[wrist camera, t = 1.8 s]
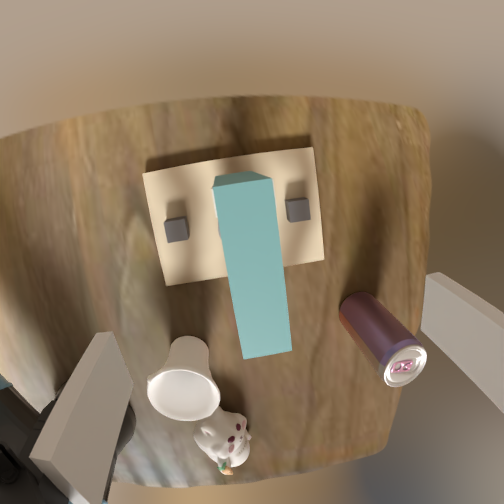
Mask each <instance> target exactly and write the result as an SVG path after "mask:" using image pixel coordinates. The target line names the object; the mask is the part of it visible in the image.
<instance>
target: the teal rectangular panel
mask: <svg viewBox="0 0 504 504" xmlns="http://www.w3.org/2000/svg"><path fill="white" fill-rule="evenodd" d="M211 191H212V197H213V203H214V209H215V215H216V218H218V222H219V228H220V234H221V240H222V246H223V251H224V257H225V263H226V268H227V274H228V279H229V285H230V290H231V296H232V301H233V307H234V312H235V317H236V322H237V328H238V333H239V338H240V343H241V348H242V353H243V358H244V359H249V358H255V357H261V356H266V355H271V354H277V353H282V352H287V351H292V346H291V336H290V326H289V316H288V307H287V297H286V288H285V279H284V271H283V262H282V254H281V245H280V237H279V229H278V221H277V213H276V208H277V203H276V196H275V188H274V181H273V179H272V178H270V177H267V176H264V175H261V174H258V173H256V172H253V171H244V172H238V173H231V174H225V175H219V176H215V179H214V184H213V186H212V188H211Z"/></svg>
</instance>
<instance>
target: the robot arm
mask: <svg viewBox="0 0 504 504" xmlns="http://www.w3.org/2000/svg"><path fill="white" fill-rule="evenodd" d="M421 330H422V331H423V332H424V333H425V334H426V335H427V336H428V337H429V338H430V339H431V340H432V341H433V342H434V343H435V344H436V345H437V346H438V347H439V348H440V349H441V350H442V351H443V352H444V353H445V354H446V355H447V356H448V357H449V358H451V360H452V361H453V362H455V363H456V365H458V367H459V368H461V370H462V371H463V372H464V373H465V374H466V375H467V376H468V377H469V378H471V380H472V381H473V382H474V383H475V384H476V385H477V386H478V387H479V388H480V389H481V390H482V391H483V392H484V393H485V394H486V395H487V396H488V397H489V398H490V400H491V401H492V402H493V403H494V404H495V405H496V406H497V407H498V408H499V409H500V410H501V411H502V412H503V414H504V313H503V312H501V311H500V310H498V309H497V308H495V307H494V306H492V305H491V304H489V303H488V302H486V301H484V300H483V299H482V298H480V297H478V296H477V295H475V294H474V293H472V292H471V291H469V290H467V289H466V288H464V287H463V286H461V285H459V284H458V283H456V282H455V281H453V280H452V279H450V278H448V277H447V276H445V275H443V274H442V273H440V272H437V273H433V274H429V275H426V283H425V295H424V305H423V314H422V323H421ZM133 386H134V383H133V381H132V378H131V376H130V374H129V371H128V369H127V367H126V364H125V362H124V359H123V357H122V354H121V352H120V349H119V347H118V344H117V342H116V339H115V336H114V334H113V331H111V332H101V333H96V334H95V336H94V338H93V339H92V341H91V343H90V344H89V346H88V347H87V349H86V351H85V353H84V354H83V356H82V358H81V359H80V361H79V363H78V364H77V366H76V368H75V370H74V371H73V373H72V375H71V377H70V378H69V380H68V382H66V383H64V384H63V385H62V386H61V387H60V388H59V390H58V392H57V394H56V396H55V398H54V401H51V402H50V403H49V404H48V405H47V406H46V407H45V408H44V409H43V410H42V412H41V414H40V413H39V412H38V411H37V410H35V409H34V408H33V407H32V406H31V405H30V404H29V403H28V402H27V401H26V400H25V399H24V398H23V396H22V395H21V394H20V393H19V392H18V391H17V390H16V389H15V388H14V387H13V384H12V383H9V382H8V381H7V380H6V379H5V378H4V377H3V376H2V375H1V374H0V504H108V502H107V501H108V495H109V491H110V486H111V482H112V477H113V473H114V468H115V464H116V460H117V456H118V455H119V454H120V452H121V451H122V450H123V448H124V447H125V445H126V444H127V443H128V442H129V441H130V440H131V438H132V436H133V434H134V430H135V426H136V418H135V415H134V413H133V411H132V409H131V407H130V406H129V405H128V402H129V399H130V396H131V392H132V389H133Z"/></svg>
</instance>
